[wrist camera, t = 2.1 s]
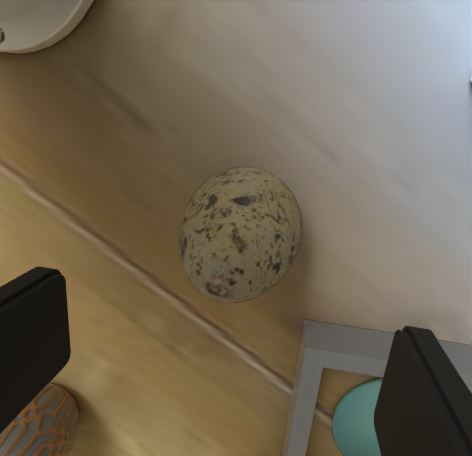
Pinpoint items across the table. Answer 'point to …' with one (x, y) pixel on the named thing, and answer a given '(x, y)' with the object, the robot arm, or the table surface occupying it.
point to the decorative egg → (239, 234)
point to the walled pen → (358, 399)
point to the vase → (43, 426)
